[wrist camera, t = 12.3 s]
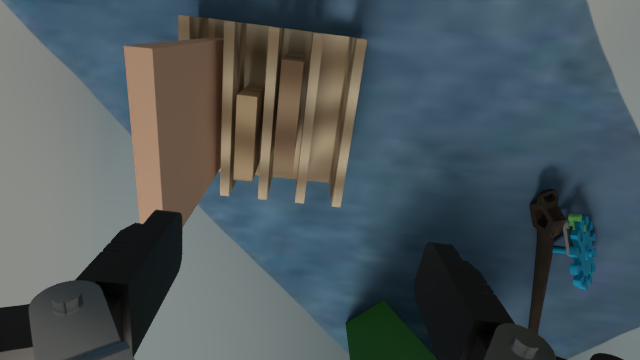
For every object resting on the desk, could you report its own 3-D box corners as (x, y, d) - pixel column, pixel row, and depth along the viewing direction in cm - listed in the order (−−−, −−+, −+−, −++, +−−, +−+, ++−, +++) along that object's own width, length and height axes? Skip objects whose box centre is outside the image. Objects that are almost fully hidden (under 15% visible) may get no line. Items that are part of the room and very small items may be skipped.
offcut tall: (287, 52, 42) (281, 59, 33) (305, 54, 43) (303, 61, 33) (279, 144, 47) (272, 173, 37) (295, 146, 47) (292, 175, 37)
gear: (604, 266, 55) (588, 305, 49) (558, 260, 59) (538, 296, 53) (595, 197, 52) (577, 230, 46) (548, 197, 57) (525, 226, 50)
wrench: (495, 337, 64) (510, 185, 51) (523, 331, 65) (546, 179, 51) (512, 363, 60) (534, 204, 46) (542, 357, 60) (573, 197, 47)
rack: (198, 16, 42) (172, 14, 34) (360, 38, 43) (372, 40, 36) (198, 164, 49) (177, 190, 41) (339, 179, 50) (344, 207, 42)
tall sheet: (214, 37, 42) (123, 45, 21) (228, 38, 42) (152, 48, 21) (215, 155, 47) (142, 252, 26) (227, 156, 47) (165, 254, 27)
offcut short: (249, 83, 44) (236, 94, 36) (266, 85, 44) (257, 97, 36) (245, 155, 47) (233, 179, 40) (261, 157, 47) (252, 181, 40)
